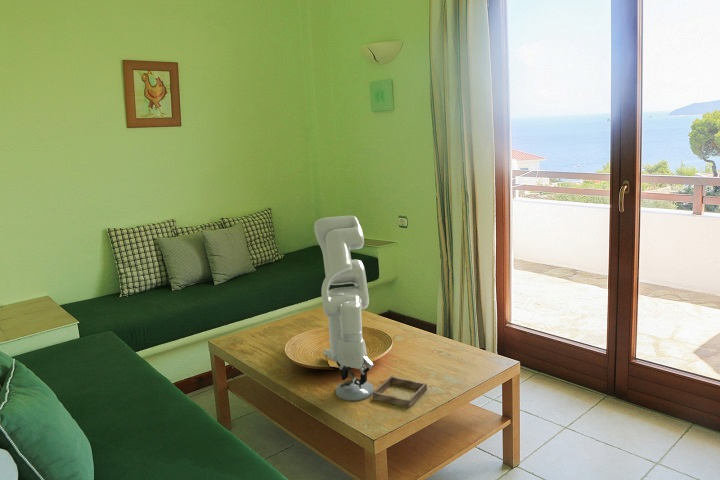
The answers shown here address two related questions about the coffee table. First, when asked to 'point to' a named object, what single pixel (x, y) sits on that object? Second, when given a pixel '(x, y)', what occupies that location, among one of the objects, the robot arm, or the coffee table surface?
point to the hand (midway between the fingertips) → (354, 380)
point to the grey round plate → (355, 391)
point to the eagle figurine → (353, 379)
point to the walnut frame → (396, 400)
